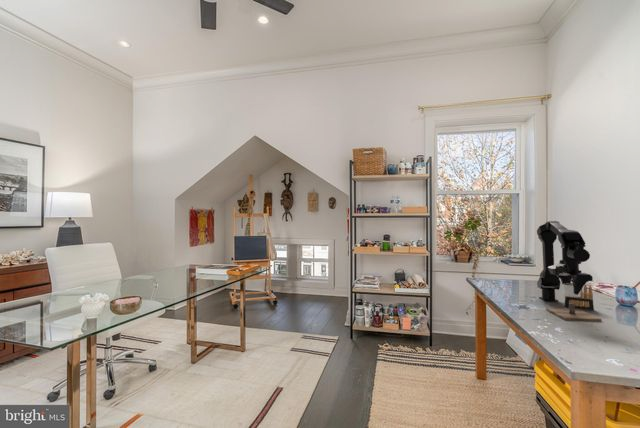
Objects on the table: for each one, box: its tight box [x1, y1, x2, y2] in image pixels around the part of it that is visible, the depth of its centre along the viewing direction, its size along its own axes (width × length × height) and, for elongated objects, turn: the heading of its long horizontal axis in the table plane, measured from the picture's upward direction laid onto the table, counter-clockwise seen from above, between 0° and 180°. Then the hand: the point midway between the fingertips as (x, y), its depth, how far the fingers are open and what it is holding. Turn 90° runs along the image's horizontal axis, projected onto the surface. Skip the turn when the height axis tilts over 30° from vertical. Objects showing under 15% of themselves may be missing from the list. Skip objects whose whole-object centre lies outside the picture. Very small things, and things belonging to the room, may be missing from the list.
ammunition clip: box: [564, 284, 595, 311], centre depth 144 cm, size 11×2×12 cm, turn 55°
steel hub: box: [561, 282, 581, 298], centre depth 134 cm, size 6×6×5 cm
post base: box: [545, 302, 603, 323], centre depth 134 cm, size 14×14×6 cm
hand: (571, 292), depth 134 cm, fingers closed on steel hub, 6 cm apart
